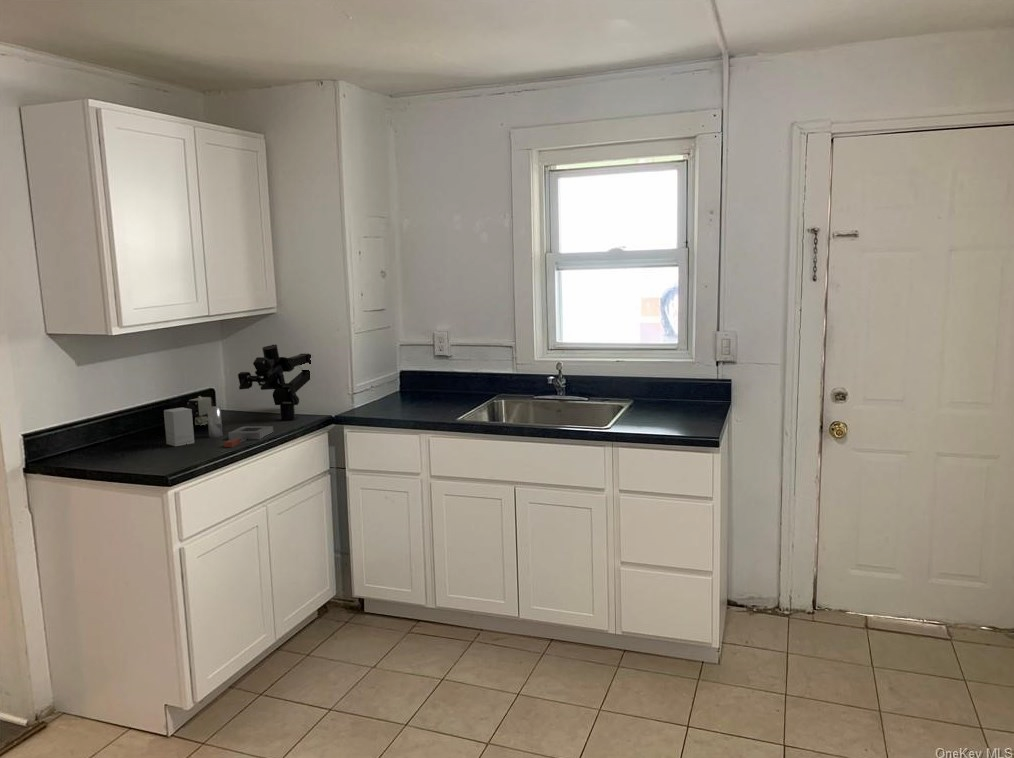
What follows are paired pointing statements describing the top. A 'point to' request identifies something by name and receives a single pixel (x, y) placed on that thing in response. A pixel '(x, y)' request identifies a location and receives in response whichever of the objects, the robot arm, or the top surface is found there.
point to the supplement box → (179, 426)
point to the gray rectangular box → (247, 434)
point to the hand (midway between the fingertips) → (250, 388)
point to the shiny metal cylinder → (214, 421)
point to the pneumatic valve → (200, 408)
